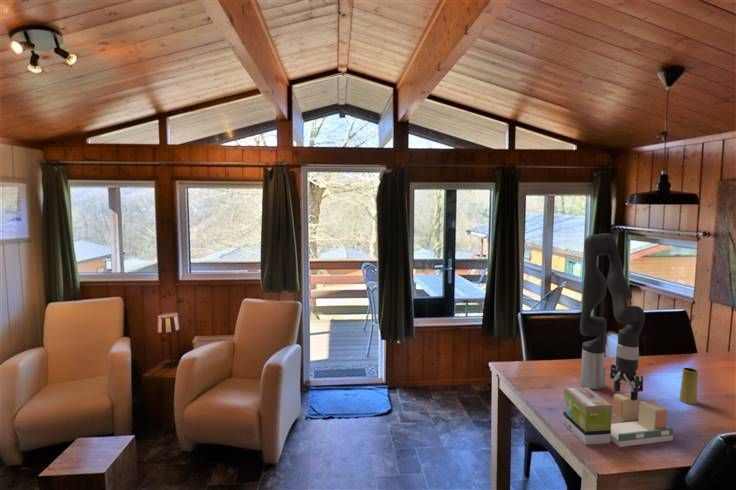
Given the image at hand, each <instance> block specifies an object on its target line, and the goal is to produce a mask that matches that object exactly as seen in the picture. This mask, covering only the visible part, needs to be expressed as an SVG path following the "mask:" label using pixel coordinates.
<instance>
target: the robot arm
mask: <svg viewBox="0 0 736 490" xmlns="http://www.w3.org/2000/svg"><path fill="white" fill-rule="evenodd" d="M583 248H584V249H583V250H584V252H583V253H584V272H583V273H584V274H583V275H584V277H583V284H582V304H581V305H582V306H581V314H580V321H579V332H580V334H581V335H582V336H587V337H594V338H595V337H596V338H595V339H593V340H592V339H591V340H588V341H585V342H583V343H582V347H581V348H582V350H581V370H580V385H581V386H582V387H588V388H589V389H590V390H597V391H598V390H602V389H603V388H605V387H606V385H605V383H606V367H605V352H606V351H605V347H606V346H605V344H606V343H605V342H606V336H607V335H606V334H607V320H606V318H605V317H602V316H591V313H592V311H594V309H595V308H596V307H597V306H598V305H600V303H601V302H602V301H603V300H604V299H605V297H606V294H607V288H608V291H609V293H610V295H611V299H612V309H613V316H614V319H615V321H616V322H617V323H618V324H621V325H624V326H625V325H626V326H625V327H624V328H622V329H621V328H620V329H619V330H618V334H617V346H616V352H615V354H616V355H615V364H614V363H613V364H611V366H610V373H609V378H610V379H612V380H613V390H614V391H615V392H620V391H621V381H624V382H625V383H626V384H627V385H628V386H629V388H630V394H631V400H632V401H635V400H637V398H639V397H638V395H639V392H643V391H644V376H642V375H637V372H636V371H637V370H638V369H639V360H640V359H639V358H640V357H639V355H640V351H639V345H640V344H639V343H640V342H639V341H640V335H641V333H642V329H643V327H644V325H645V321H646V314H645V311H644V309H643V308H642V307H640V306H639V305H627V302H629V301H630V300H632V298H633V294H632V292H631V289H630V286H629V285H628V282H627V279H626V277H625V274H624V270H623V265H622V261H621V257H620V253H619V248H618V244H617V242H616V238H614V235H613V234H611V233H609V232H608V233H607V232H604V233H599V234H598V233H597V234H590V235H588V236H586V238H585V240H584V247H583ZM599 256H608V258H609V269H608V273H607V277H605V276H604V274H603V273H602V272H601V270H600V268H599V266H598V265H597V258H598V257H599Z"/></svg>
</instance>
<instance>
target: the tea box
mask: <svg viewBox="0 0 736 490" xmlns="http://www.w3.org/2000/svg"><path fill="white" fill-rule="evenodd" d="M612 417H613V404H611V403H610V402H608V401H607V400H606V399H604V397H601V396H600V395H599V394H597V393H596V392H594V391H593V389H589V388H588V387H584V386H582V387H570V388H567V387H566V388H564V389H563V415H562V423H563V425H565V426H566V427H567V428H568V429H569V430H570V431H571V432H572V433H573V434H574V435H575V436H576V437H577V438H578V439H579V441H580V442H582V443H583V444H584V445H598V444H599V445H601V444H610V443H611V440H610V437H611V424H612Z"/></svg>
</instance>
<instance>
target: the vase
mask: <svg viewBox="0 0 736 490" xmlns="http://www.w3.org/2000/svg"><path fill="white" fill-rule="evenodd" d="M698 375H699V371H698V370H697V369H696V368H692V367H682V377H681V384H680V385H681V386H680V392H679V400H680V402H682V403H684V404H687V405H697V404H698V379H699V378H698Z"/></svg>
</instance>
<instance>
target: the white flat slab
mask: <svg viewBox="0 0 736 490" xmlns="http://www.w3.org/2000/svg"><path fill="white" fill-rule="evenodd" d="M673 438H674V428H673V427H666V428H664V429H656V430H647V429H645V428H644V427H642V426H640V425H639V424H638V420H633V421H624V422H618V423H611V437H610V442H613V444H615V445H616V446H618V447H619V448H622V447H629V446H637V445H645V444H653V443H654V444H655V443H664V442H670V441H673Z"/></svg>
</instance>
